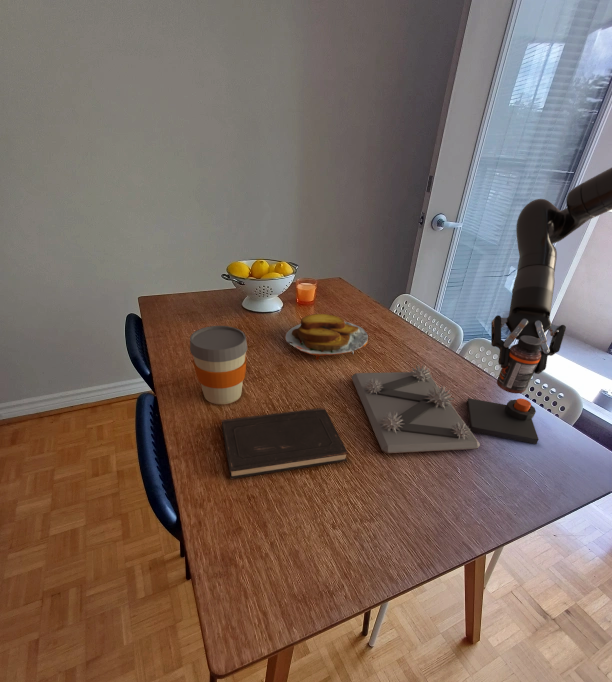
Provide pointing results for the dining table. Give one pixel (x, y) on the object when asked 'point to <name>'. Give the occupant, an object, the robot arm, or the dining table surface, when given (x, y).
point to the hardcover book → (281, 442)
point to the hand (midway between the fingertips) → (521, 369)
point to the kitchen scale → (501, 420)
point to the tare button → (522, 405)
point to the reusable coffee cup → (219, 362)
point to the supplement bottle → (520, 365)
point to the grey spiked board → (412, 412)
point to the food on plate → (326, 335)
